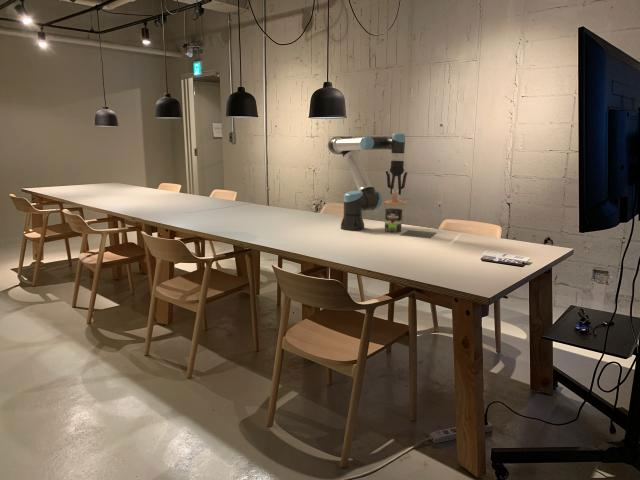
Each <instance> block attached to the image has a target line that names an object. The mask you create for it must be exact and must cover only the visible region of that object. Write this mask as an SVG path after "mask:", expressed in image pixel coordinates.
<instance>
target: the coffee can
mask: <svg viewBox="0 0 640 480" xmlns="http://www.w3.org/2000/svg"><path fill="white" fill-rule="evenodd" d="M384 211H385V213H384V233H387V234H400V233H402V224H403V223H402V221H403V209H401V208H385V210H384Z"/></svg>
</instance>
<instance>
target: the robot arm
mask: <svg viewBox="0 0 640 480" xmlns="http://www.w3.org/2000/svg"><path fill="white" fill-rule="evenodd" d="M405 145H406V135H405V133H392V136H384V135H383V136H369V135H368V136H367V135H366V136H363V137H362V136H361V137H356V136H352V135H349V136H348V135H347V136H337V135H336V136H333V137H332V138H330V139H329V140H328V143H327V148H328V150H329V151H330V153H332V154H334V155H342V157H343V159H344V160H346V162H347V163H348V166H349V167H348V168H350V172H351V174H352V176H353V180H354V182H355V185H356V188H357V189H358V190H350V191H347V192H345V193H344V194H343V217H342V220H341V222H340V229H341V230H345V231H362V230H364V229H365V223H364V220H363V212H365V211H374V210H378V209H379V208H380V207H381V205H382V202H383V195H382V194H381V192H379V191H377V190H376V189H375V187H374V186H373V185H372V184H371V182H370V179H369V177H368V175H367V172H366V169H365V167H364V165H363V162H362V160H361V158H360V154H361V151H365V150H366V151H369V150H372V151H373V150H374V151H375V150H387V151H388V150H390V151H391V154H390V155H391V157H390V160H391V161H390V169H389V170H387V171H385V174H386V183H387V188H389V189H390V195H392V194H393V193H395V190H396V189H395V187H394V186H395V181H396V177H397V185H398V186H397V188H398V189H397V190H396V192H397V200H400V195H402V189H404V188H405V187H406V182H407V181H406V180H407V177H408V174H409V172H408V171H405V169H404V165H405V164H404V163H405V147H406V146H405ZM402 174H403V178H402Z"/></svg>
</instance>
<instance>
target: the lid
mask: <svg viewBox="0 0 640 480" xmlns="http://www.w3.org/2000/svg"><path fill="white" fill-rule="evenodd" d="M384 204H387V205H392V206H393V205H395V206H400V205H401V206H402V205H406V204H407V201H406V200H401V199H399V200H397V191H396V192H394V193H393V194H391V199H386V200H384Z"/></svg>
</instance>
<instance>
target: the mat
mask: <svg viewBox="0 0 640 480" xmlns="http://www.w3.org/2000/svg"><path fill="white" fill-rule="evenodd" d="M436 234H437V232H434V231H424V230H423V231H422V230H421V231H420V230H414V229H413V230H412V229H411V230H410V229H408V230H406V231H405V232H402V234H400V236H403V237H413V238H422V239H424V238H425V239H432V238H433V237H434V236H435V235H436Z"/></svg>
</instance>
